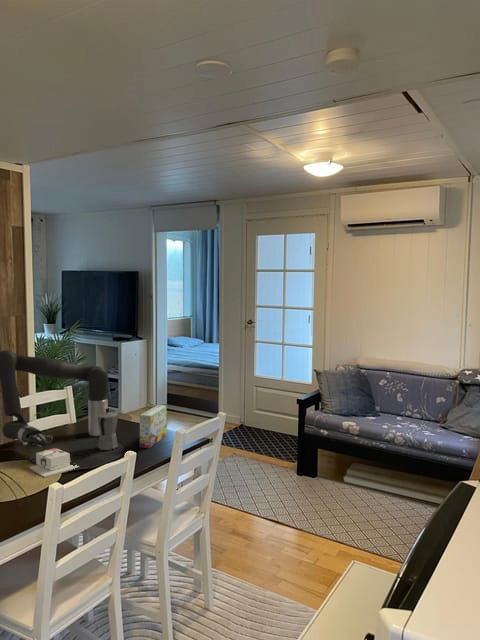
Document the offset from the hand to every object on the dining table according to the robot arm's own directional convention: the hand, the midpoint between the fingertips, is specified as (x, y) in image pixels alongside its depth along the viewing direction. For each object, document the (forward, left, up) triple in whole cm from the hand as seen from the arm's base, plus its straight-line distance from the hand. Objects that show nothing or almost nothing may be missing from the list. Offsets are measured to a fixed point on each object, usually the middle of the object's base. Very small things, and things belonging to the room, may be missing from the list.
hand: (47, 444), depth 190 cm
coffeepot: (-27, 0, -8) cm, 28 cm away
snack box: (-48, +6, -8) cm, 49 cm away
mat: (0, +6, -8) cm, 10 cm away
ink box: (0, -2, -5) cm, 5 cm away
